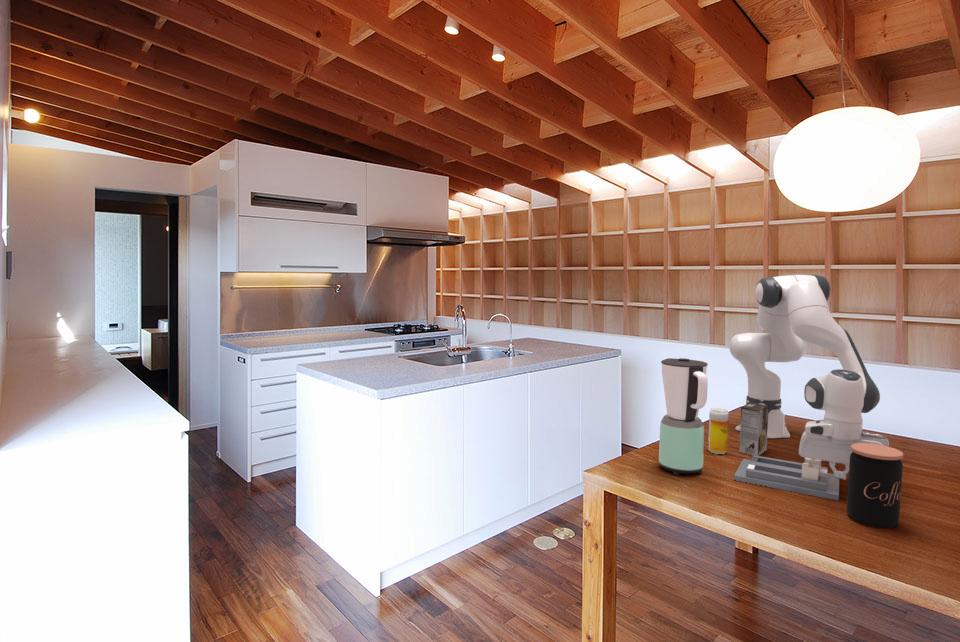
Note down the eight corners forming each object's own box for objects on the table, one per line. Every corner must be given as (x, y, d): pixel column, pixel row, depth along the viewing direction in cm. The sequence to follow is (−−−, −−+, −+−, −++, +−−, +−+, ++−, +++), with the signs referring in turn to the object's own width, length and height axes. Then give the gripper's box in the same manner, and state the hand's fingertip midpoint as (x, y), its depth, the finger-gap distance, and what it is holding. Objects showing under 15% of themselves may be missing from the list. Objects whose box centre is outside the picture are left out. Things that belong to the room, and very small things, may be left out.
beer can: (729, 455, 183) (731, 412, 182) (710, 454, 184) (711, 411, 183) (724, 450, 189) (726, 408, 188) (706, 449, 190) (707, 407, 189)
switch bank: (743, 463, 176) (743, 452, 176) (838, 480, 162) (839, 468, 161) (733, 480, 161) (734, 468, 161) (838, 500, 147) (839, 488, 146)
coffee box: (747, 446, 193) (749, 402, 192) (767, 450, 189) (769, 405, 187) (738, 452, 187) (740, 406, 186) (758, 456, 182) (760, 409, 181)
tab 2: (801, 479, 157) (803, 460, 157) (818, 482, 155) (819, 463, 155) (801, 483, 154) (802, 464, 154) (817, 486, 152) (818, 467, 151)
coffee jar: (860, 528, 131) (865, 455, 129) (837, 509, 141) (841, 441, 140) (909, 530, 129) (914, 457, 128) (882, 511, 140) (886, 443, 138)
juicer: (647, 462, 177) (650, 356, 174) (683, 459, 180) (686, 354, 177) (681, 483, 158) (685, 365, 155) (721, 479, 161) (725, 363, 158)
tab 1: (804, 471, 164) (805, 453, 163) (820, 473, 162) (821, 455, 161) (804, 475, 160) (805, 456, 160) (819, 478, 158) (820, 459, 158)
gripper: (888, 432, 146) (885, 482, 147) (800, 421, 157) (798, 467, 159) (890, 438, 141) (886, 490, 142) (799, 426, 152) (796, 474, 153)
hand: (839, 478), depth 150 cm, fingers closed
